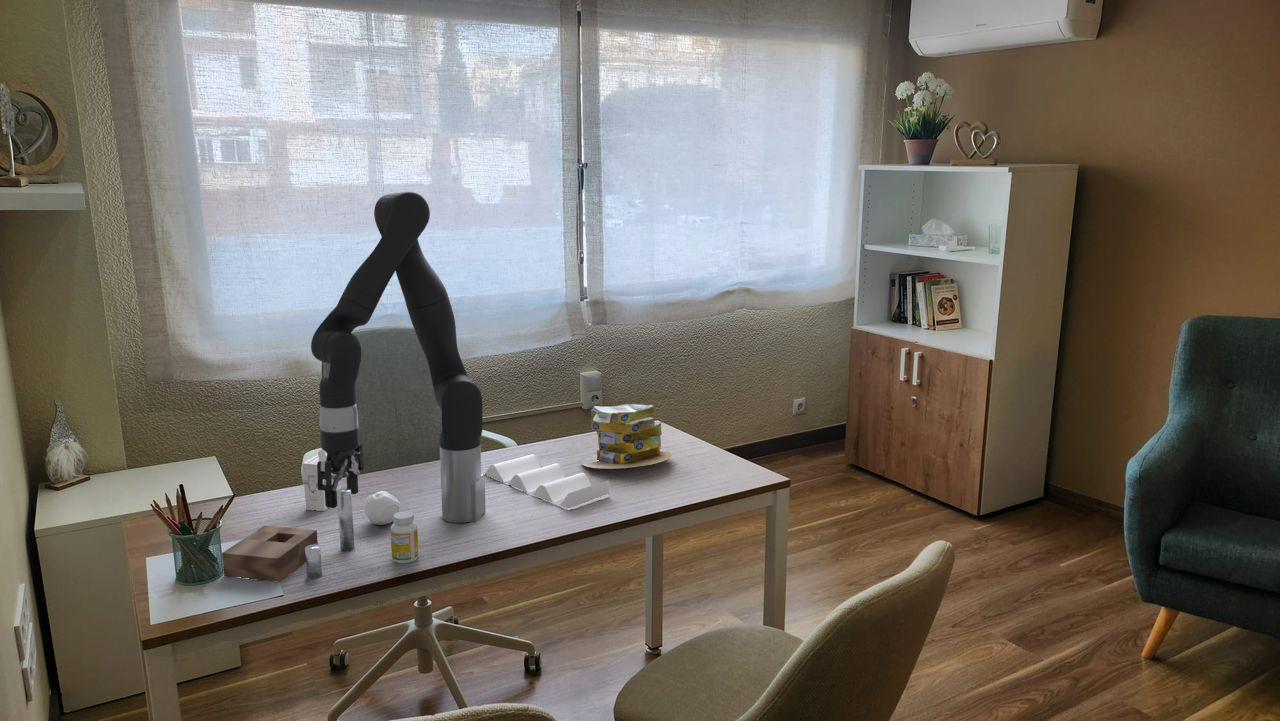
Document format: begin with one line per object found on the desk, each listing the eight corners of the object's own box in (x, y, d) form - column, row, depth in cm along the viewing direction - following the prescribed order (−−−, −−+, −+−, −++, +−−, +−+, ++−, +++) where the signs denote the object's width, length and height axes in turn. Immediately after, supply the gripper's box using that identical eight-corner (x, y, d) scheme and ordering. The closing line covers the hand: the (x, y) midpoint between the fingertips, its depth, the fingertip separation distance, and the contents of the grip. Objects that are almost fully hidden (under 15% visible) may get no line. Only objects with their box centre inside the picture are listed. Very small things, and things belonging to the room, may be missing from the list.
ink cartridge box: (324, 497, 214) (320, 439, 210) (343, 499, 213) (339, 441, 210) (304, 510, 205) (300, 450, 202) (323, 512, 204) (319, 452, 201)
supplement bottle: (401, 566, 177) (399, 522, 175) (386, 558, 180) (384, 515, 178) (424, 557, 181) (422, 514, 179) (408, 550, 184) (406, 507, 182)
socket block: (318, 552, 183) (316, 530, 182) (279, 582, 169) (277, 558, 168) (266, 547, 185) (264, 525, 184) (224, 576, 171) (221, 553, 170)
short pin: (324, 573, 173) (322, 545, 172) (317, 579, 171) (315, 550, 169) (311, 571, 174) (309, 543, 172) (304, 578, 171) (302, 549, 170)
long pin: (357, 546, 186) (353, 488, 183) (350, 551, 183) (346, 493, 180) (344, 545, 186) (341, 487, 184) (338, 550, 184) (334, 492, 181)
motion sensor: (406, 518, 201) (404, 486, 199) (391, 531, 194) (390, 498, 192) (373, 516, 202) (372, 484, 201) (358, 528, 195) (356, 496, 193)
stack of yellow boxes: (566, 459, 244) (565, 402, 240) (640, 445, 257) (641, 390, 253) (610, 486, 224) (611, 423, 220) (689, 469, 237) (690, 410, 233)
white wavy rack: (523, 465, 240) (522, 448, 239) (609, 499, 216) (609, 480, 215) (483, 477, 231) (482, 458, 230) (568, 513, 207) (568, 493, 206)
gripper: (337, 436, 172) (341, 514, 175) (372, 418, 185) (375, 490, 189) (303, 433, 173) (307, 510, 176) (340, 415, 187) (343, 487, 190)
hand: (342, 500), depth 183 cm, fingers open, 8 cm apart
